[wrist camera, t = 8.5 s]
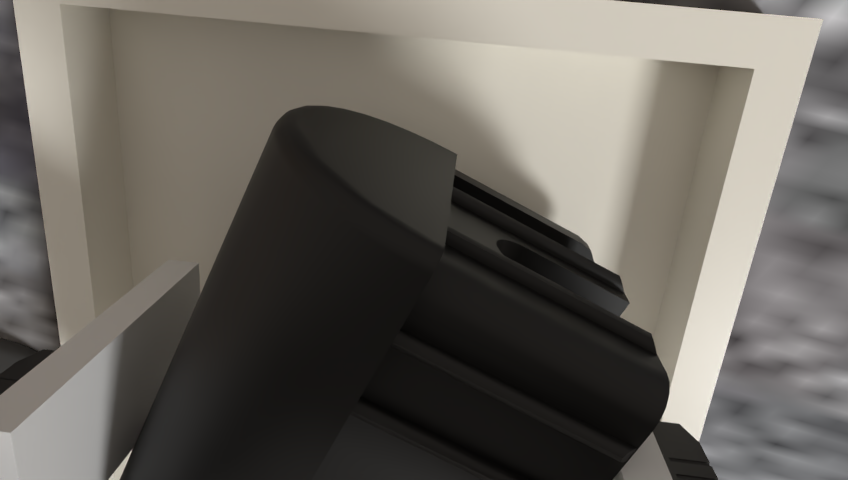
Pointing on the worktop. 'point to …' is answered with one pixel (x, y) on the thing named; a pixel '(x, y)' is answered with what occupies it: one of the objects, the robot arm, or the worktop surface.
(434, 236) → the end cap
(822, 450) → the worktop surface
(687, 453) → the robot arm
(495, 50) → the mount tray
